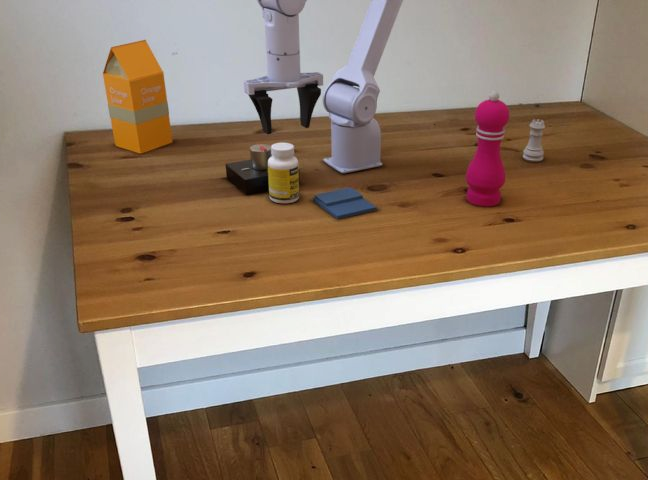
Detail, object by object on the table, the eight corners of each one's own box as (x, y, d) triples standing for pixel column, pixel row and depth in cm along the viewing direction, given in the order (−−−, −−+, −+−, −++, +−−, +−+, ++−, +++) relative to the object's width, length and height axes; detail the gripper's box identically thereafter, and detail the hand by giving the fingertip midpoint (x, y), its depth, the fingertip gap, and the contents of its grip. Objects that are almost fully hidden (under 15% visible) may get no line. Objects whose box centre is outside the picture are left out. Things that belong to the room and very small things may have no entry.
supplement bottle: (294, 206, 137) (292, 152, 131) (265, 202, 138) (261, 149, 132) (303, 194, 141) (301, 142, 136) (275, 191, 142) (272, 139, 137)
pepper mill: (506, 196, 145) (519, 88, 133) (497, 210, 139) (510, 99, 128) (469, 189, 146) (479, 83, 135) (459, 203, 141) (469, 93, 129)
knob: (247, 164, 144) (246, 144, 142) (267, 161, 146) (266, 141, 144) (256, 171, 142) (255, 151, 139) (276, 168, 144) (275, 147, 141)
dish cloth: (351, 192, 143) (351, 186, 142) (376, 210, 137) (376, 203, 136) (313, 201, 139) (312, 194, 138) (337, 219, 133) (337, 212, 132)
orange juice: (173, 142, 161) (160, 42, 150) (140, 154, 155) (124, 50, 144) (147, 134, 164) (132, 36, 153) (114, 145, 158) (96, 44, 147)
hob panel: (278, 168, 151) (278, 153, 150) (300, 184, 145) (299, 168, 143) (226, 178, 146) (225, 162, 144) (246, 195, 140) (244, 179, 138)
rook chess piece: (519, 160, 161) (524, 122, 156) (525, 153, 164) (530, 116, 160) (540, 164, 159) (546, 126, 155) (545, 157, 163) (551, 120, 158)
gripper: (254, 61, 126) (259, 142, 133) (331, 52, 133) (332, 130, 140) (236, 51, 131) (242, 130, 138) (312, 43, 138) (313, 119, 145)
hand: (286, 129), depth 140 cm, fingers open, 7 cm apart
